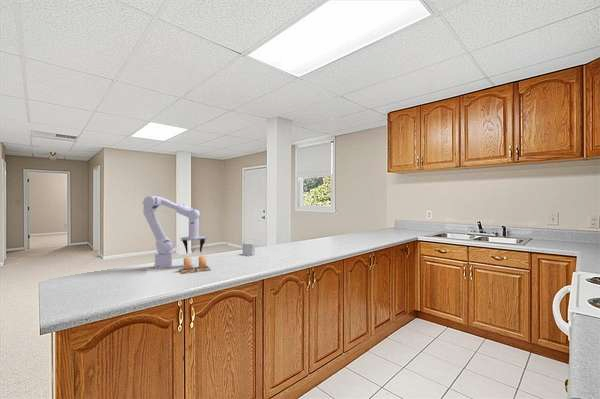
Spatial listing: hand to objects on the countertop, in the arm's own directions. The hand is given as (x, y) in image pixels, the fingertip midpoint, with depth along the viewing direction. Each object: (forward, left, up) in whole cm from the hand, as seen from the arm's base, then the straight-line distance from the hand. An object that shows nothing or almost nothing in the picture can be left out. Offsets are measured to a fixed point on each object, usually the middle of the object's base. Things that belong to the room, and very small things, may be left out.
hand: (193, 252), depth 170 cm
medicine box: (+40, +21, -10) cm, 46 cm away
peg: (-4, -9, -8) cm, 13 cm away
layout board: (0, -9, -9) cm, 13 cm away
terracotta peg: (+4, -9, -8) cm, 13 cm away
